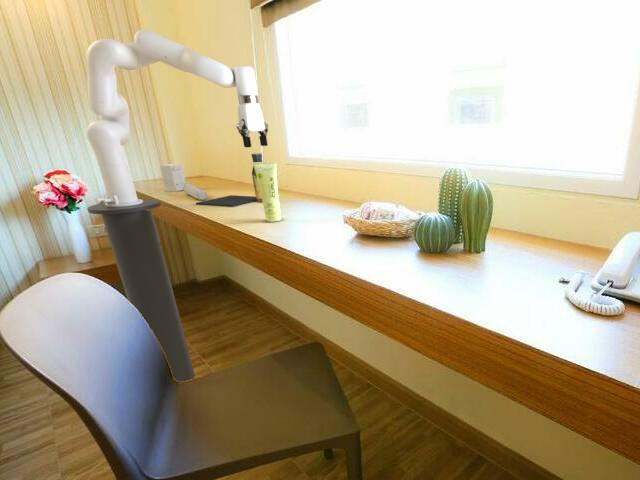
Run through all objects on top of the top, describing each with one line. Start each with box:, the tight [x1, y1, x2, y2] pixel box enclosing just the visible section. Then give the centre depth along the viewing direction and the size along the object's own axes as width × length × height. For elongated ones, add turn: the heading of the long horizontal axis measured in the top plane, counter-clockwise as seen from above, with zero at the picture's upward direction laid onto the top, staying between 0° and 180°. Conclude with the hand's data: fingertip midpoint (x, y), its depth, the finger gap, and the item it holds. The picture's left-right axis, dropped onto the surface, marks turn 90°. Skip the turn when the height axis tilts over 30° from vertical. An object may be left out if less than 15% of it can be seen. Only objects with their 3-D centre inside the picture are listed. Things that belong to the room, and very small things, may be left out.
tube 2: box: [252, 160, 282, 223], centre depth 131 cm, size 6×5×20 cm
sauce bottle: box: [251, 152, 263, 203], centre depth 167 cm, size 7×6×20 cm
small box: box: [159, 163, 187, 193], centre depth 203 cm, size 8×6×13 cm
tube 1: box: [182, 183, 208, 201], centre depth 182 cm, size 5×5×25 cm
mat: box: [195, 194, 258, 208], centre depth 171 cm, size 20×20×1 cm
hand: (256, 146), depth 162 cm, fingers open, 9 cm apart
